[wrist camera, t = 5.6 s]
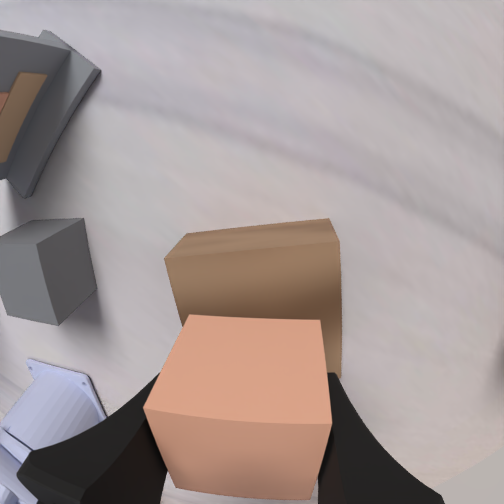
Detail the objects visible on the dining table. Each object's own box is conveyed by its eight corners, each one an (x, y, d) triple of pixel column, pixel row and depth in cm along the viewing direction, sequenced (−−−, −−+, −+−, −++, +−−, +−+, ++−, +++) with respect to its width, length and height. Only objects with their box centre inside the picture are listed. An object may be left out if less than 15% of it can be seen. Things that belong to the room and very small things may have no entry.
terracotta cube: (308, 407, 14) (309, 500, 9) (202, 401, 14) (175, 487, 9) (320, 319, 12) (332, 423, 7) (189, 314, 12) (143, 407, 8)
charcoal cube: (97, 287, 21) (58, 325, 16) (47, 283, 21) (7, 315, 16) (84, 217, 19) (36, 244, 14) (33, 220, 19) (-14, 243, 15)
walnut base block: (333, 336, 20) (340, 378, 16) (213, 344, 21) (200, 384, 18) (328, 217, 17) (339, 241, 14) (187, 232, 19) (164, 258, 15)
